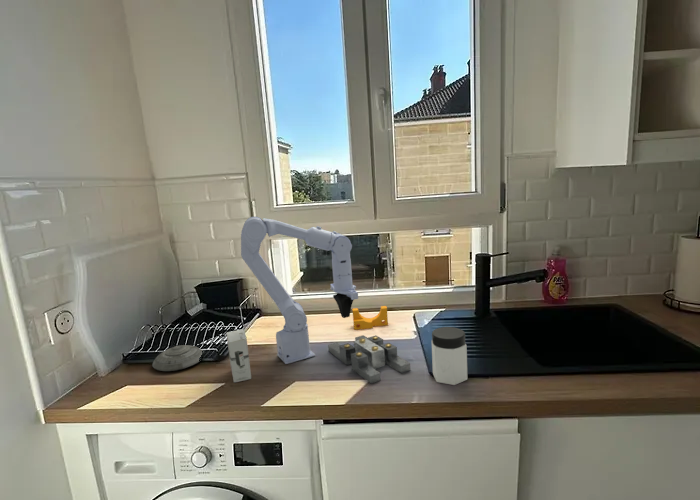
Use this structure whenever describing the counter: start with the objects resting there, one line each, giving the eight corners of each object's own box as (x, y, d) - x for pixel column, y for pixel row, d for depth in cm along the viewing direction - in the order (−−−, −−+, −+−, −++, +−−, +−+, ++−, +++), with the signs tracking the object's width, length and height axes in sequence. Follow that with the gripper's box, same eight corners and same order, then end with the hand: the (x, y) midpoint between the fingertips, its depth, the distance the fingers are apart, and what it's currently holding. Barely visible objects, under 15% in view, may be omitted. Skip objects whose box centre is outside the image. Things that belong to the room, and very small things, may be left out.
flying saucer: (207, 350, 137) (205, 334, 136) (202, 370, 122) (199, 352, 121) (159, 357, 134) (156, 341, 133) (147, 378, 119) (144, 360, 118)
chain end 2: (370, 383, 106) (369, 365, 105) (351, 369, 115) (350, 352, 114) (410, 370, 112) (409, 352, 111) (389, 357, 121) (388, 341, 120)
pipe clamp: (354, 330, 144) (352, 312, 143) (353, 325, 149) (352, 308, 148) (388, 327, 145) (387, 309, 143) (387, 323, 149) (386, 305, 148)
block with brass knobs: (372, 369, 114) (371, 350, 113) (355, 357, 123) (353, 339, 122) (385, 365, 116) (383, 347, 115) (366, 353, 125) (365, 336, 124)
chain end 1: (346, 365, 118) (345, 348, 117) (328, 351, 128) (327, 336, 127) (384, 353, 123) (383, 338, 123) (363, 341, 134) (362, 326, 133)
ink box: (230, 370, 120) (225, 331, 118) (247, 366, 122) (243, 328, 120) (233, 383, 112) (228, 342, 110) (252, 379, 114) (246, 338, 112)
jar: (427, 381, 106) (425, 336, 103) (437, 367, 112) (436, 325, 110) (463, 387, 101) (461, 341, 99) (471, 373, 108) (470, 329, 106)
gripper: (365, 275, 122) (368, 320, 124) (343, 267, 134) (346, 308, 137) (344, 280, 118) (348, 325, 121) (323, 271, 131) (326, 312, 133)
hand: (345, 316), depth 128 cm, fingers closed
